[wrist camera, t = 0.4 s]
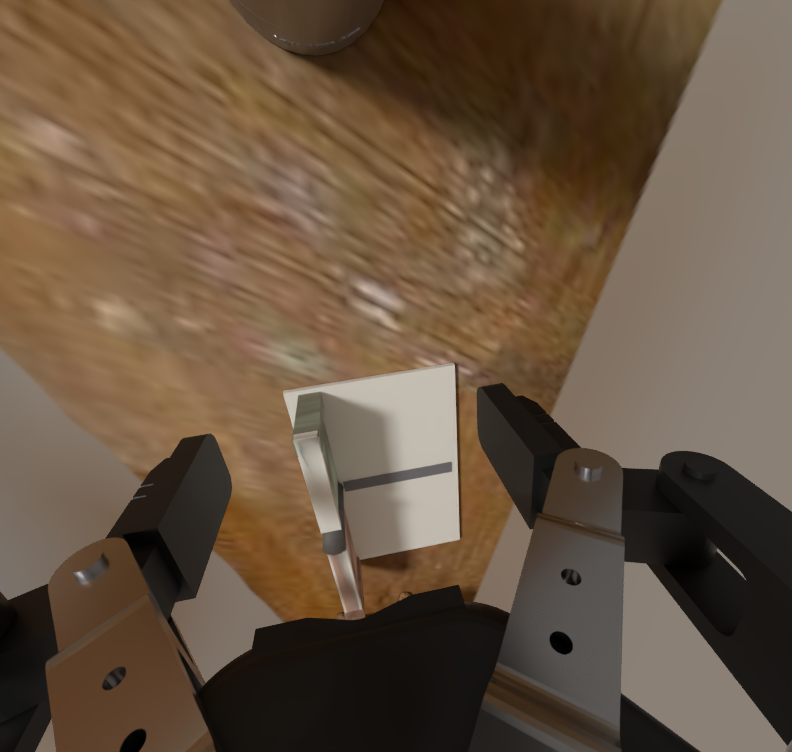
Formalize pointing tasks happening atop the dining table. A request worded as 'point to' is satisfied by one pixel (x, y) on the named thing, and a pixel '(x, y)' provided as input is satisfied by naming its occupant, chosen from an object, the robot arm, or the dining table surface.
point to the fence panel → (349, 578)
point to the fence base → (320, 471)
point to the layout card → (394, 456)
